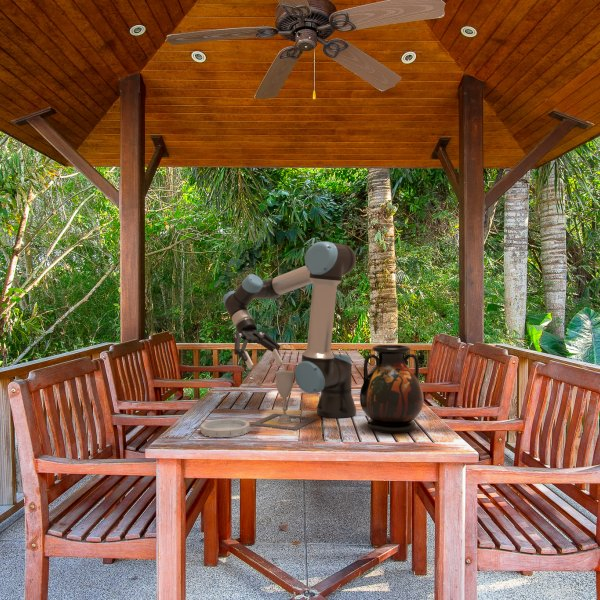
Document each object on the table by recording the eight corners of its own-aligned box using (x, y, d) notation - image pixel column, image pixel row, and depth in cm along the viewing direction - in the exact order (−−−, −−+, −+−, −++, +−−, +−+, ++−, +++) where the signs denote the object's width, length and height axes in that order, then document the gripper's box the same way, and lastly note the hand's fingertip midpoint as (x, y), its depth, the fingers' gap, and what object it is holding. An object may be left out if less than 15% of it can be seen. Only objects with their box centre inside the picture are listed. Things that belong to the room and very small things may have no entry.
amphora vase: (366, 437, 165) (366, 350, 164) (354, 421, 186) (354, 343, 186) (432, 435, 166) (432, 349, 166) (413, 419, 188) (413, 343, 187)
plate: (258, 428, 176) (258, 421, 176) (232, 440, 161) (232, 432, 161) (219, 423, 183) (219, 417, 183) (191, 434, 168) (191, 427, 168)
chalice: (286, 425, 180) (286, 374, 180) (271, 423, 184) (270, 372, 183) (298, 421, 186) (297, 371, 186) (282, 418, 190) (282, 370, 190)
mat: (317, 419, 189) (317, 418, 189) (296, 430, 173) (295, 429, 173) (274, 414, 197) (274, 413, 197) (250, 425, 181) (250, 423, 181)
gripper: (266, 328, 215) (288, 368, 203) (213, 331, 199) (234, 375, 187) (273, 316, 210) (296, 356, 199) (220, 318, 195) (242, 362, 183)
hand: (266, 365), depth 193 cm, fingers open, 13 cm apart
